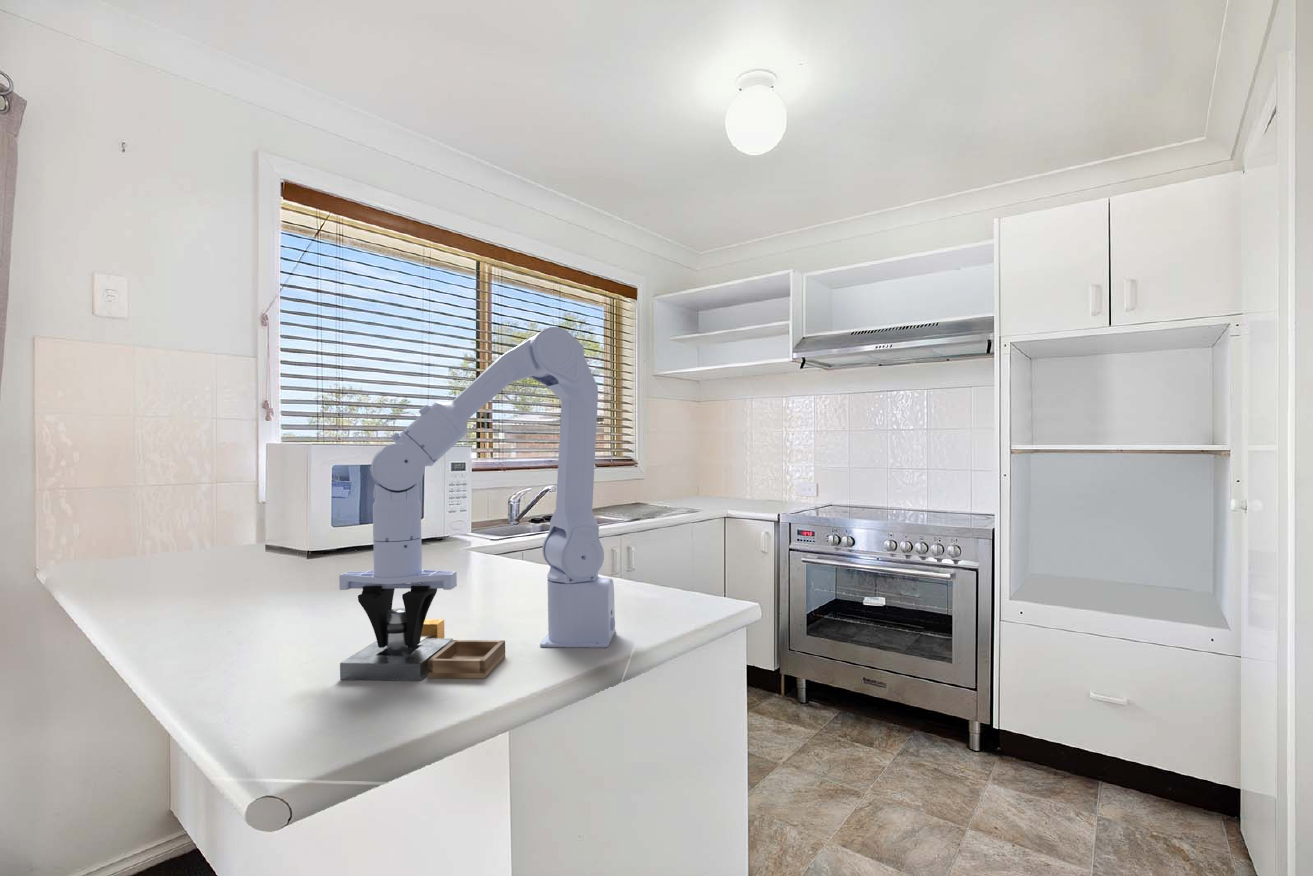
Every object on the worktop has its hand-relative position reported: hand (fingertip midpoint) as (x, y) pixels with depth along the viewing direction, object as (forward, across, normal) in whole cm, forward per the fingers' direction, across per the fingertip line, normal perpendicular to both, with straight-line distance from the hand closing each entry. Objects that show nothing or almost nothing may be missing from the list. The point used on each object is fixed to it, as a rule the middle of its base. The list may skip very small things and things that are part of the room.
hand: (399, 645), depth 84 cm
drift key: (+3, 0, -6) cm, 6 cm away
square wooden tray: (+3, -9, 0) cm, 9 cm away
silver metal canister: (+3, 0, 0) cm, 3 cm away
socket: (+3, 0, 0) cm, 3 cm away
